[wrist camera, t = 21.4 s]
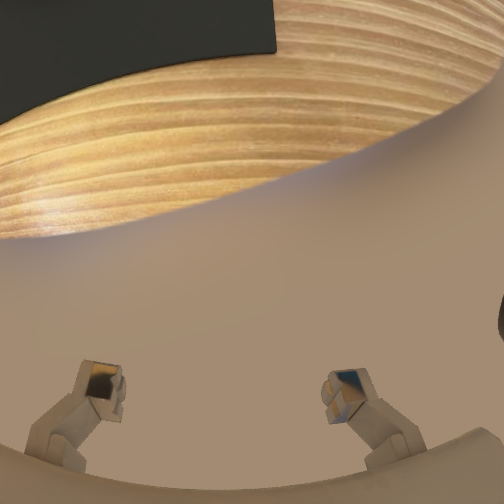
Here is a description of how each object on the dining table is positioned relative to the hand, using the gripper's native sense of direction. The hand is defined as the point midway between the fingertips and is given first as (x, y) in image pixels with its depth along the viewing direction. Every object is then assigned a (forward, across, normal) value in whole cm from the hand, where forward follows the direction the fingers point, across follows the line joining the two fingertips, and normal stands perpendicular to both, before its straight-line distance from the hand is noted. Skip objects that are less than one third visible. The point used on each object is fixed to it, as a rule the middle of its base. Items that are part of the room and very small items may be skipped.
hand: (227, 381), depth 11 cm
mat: (+8, +10, -16) cm, 21 cm away
